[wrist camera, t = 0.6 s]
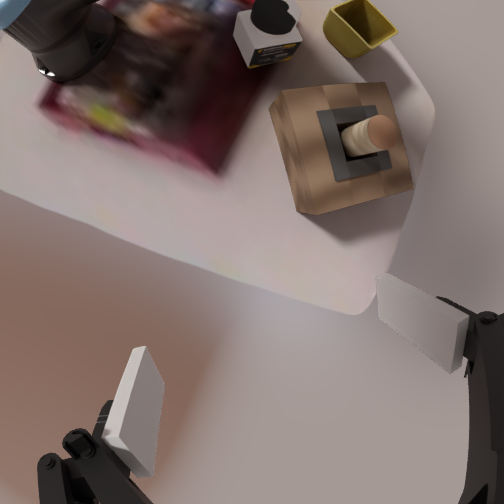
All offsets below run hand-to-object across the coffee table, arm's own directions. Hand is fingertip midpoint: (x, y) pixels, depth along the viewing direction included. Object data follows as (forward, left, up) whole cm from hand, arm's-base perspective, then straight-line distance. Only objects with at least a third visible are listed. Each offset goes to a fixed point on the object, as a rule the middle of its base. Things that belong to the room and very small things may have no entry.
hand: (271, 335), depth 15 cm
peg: (-10, +19, -22) cm, 30 cm away
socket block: (-10, +19, -28) cm, 35 cm away
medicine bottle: (-29, +13, -28) cm, 42 cm away
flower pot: (-29, +28, -28) cm, 49 cm away
